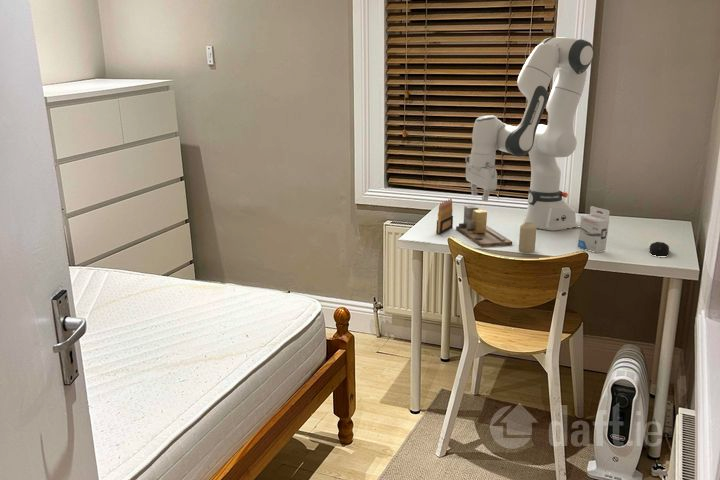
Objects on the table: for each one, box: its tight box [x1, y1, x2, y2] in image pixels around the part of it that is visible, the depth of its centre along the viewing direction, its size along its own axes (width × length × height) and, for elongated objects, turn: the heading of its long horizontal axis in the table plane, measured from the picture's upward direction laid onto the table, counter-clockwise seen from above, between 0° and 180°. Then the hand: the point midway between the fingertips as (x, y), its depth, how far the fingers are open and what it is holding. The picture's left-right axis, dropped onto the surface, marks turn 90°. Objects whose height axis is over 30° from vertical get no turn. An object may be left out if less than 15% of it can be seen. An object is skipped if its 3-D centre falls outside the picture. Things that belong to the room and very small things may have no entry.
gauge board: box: [455, 205, 513, 248], centre depth 255 cm, size 12×24×9 cm, turn 14°
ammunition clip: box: [435, 198, 454, 235], centre depth 262 cm, size 11×2×12 cm, turn 147°
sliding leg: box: [467, 209, 488, 233], centre depth 256 cm, size 6×4×8 cm, turn 104°
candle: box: [518, 222, 538, 253], centre depth 239 cm, size 6×6×10 cm
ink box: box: [577, 205, 610, 254], centre depth 240 cm, size 9×5×15 cm, turn 33°
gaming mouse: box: [649, 241, 670, 256], centre depth 238 cm, size 6×15×4 cm, turn 157°
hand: (479, 198), depth 253 cm, fingers open, 8 cm apart
